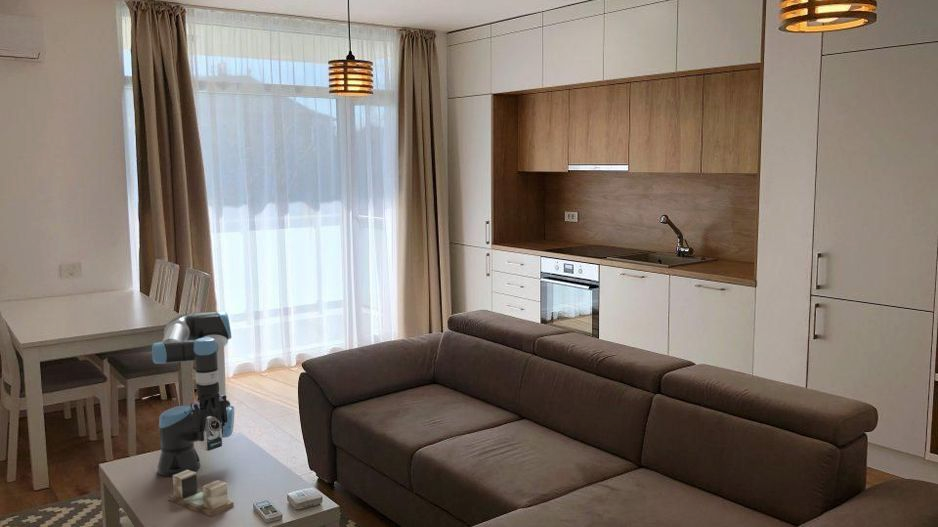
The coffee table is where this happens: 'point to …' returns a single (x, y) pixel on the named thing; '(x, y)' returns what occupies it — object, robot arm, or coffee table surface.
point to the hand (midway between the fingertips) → (211, 446)
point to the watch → (213, 433)
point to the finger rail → (200, 494)
